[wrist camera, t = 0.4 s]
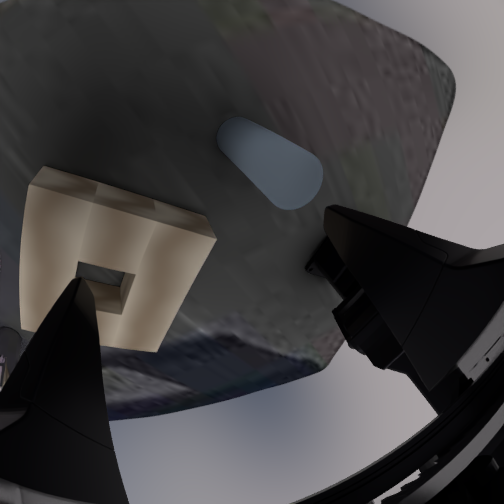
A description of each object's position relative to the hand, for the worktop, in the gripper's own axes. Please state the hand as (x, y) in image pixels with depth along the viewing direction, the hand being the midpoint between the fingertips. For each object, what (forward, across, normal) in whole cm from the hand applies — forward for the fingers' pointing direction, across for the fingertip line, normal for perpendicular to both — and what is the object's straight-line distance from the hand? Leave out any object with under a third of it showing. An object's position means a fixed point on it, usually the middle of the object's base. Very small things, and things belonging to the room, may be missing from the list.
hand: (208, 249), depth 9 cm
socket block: (+13, +8, +8) cm, 17 cm away
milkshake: (+13, +24, +13) cm, 30 cm away
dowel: (+13, -5, 0) cm, 14 cm away
